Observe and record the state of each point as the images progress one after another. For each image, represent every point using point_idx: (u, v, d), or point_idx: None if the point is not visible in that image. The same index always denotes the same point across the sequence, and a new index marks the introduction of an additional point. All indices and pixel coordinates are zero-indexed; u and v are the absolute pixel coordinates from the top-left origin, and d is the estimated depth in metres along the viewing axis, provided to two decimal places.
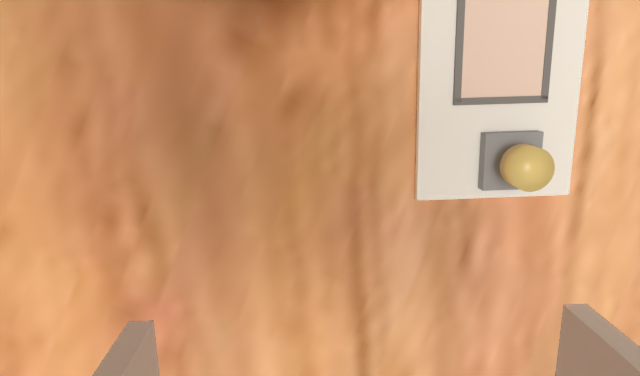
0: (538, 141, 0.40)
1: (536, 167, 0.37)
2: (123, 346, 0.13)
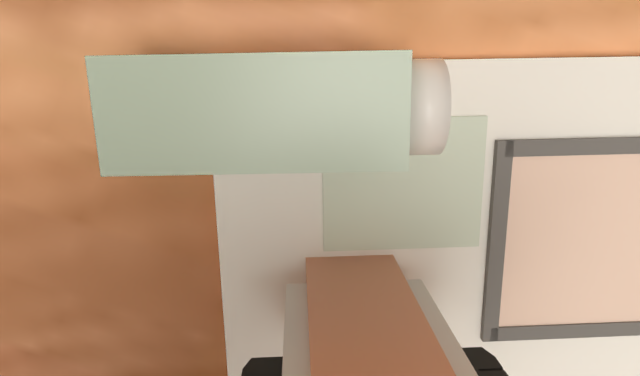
0: None
1: None
2: (295, 301, 0.15)
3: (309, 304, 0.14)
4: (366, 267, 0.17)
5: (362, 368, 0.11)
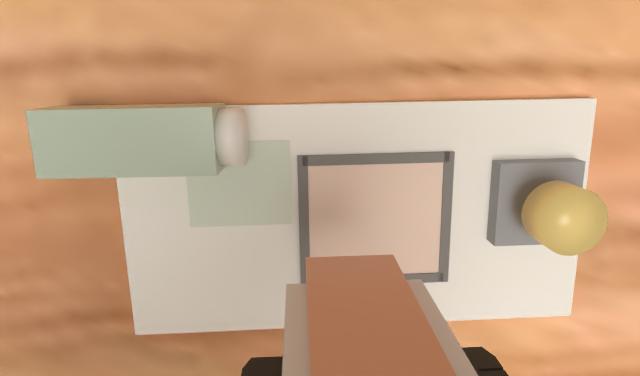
0: (514, 170, 0.27)
1: (570, 217, 0.24)
2: (295, 302, 0.15)
3: (309, 304, 0.14)
4: (366, 267, 0.17)
5: (363, 368, 0.11)
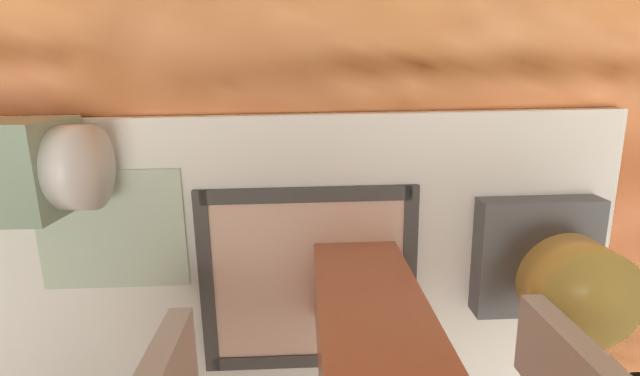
0: (505, 213, 0.19)
1: (590, 296, 0.16)
2: (167, 330, 0.14)
3: (318, 283, 0.16)
4: (370, 252, 0.19)
5: (367, 334, 0.13)
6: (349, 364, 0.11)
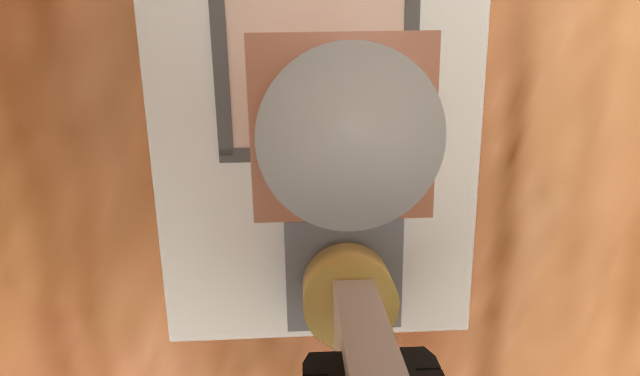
0: (394, 237, 0.20)
1: None
2: (345, 298, 0.16)
3: None
4: None
5: None
6: None
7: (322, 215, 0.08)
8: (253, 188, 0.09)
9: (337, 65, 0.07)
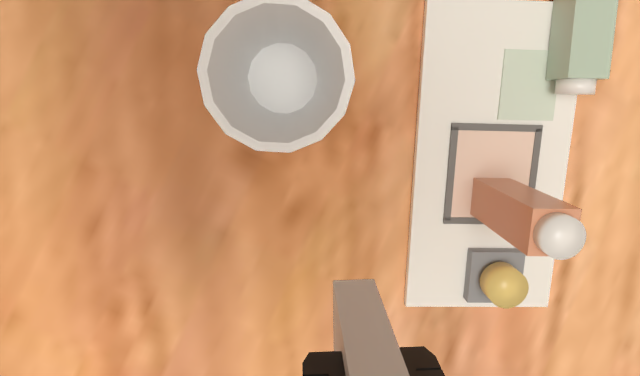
0: (520, 260, 0.43)
1: (512, 287, 0.41)
2: (345, 298, 0.16)
3: (530, 187, 0.39)
4: None
5: None
6: None
7: (554, 255, 0.31)
8: (527, 246, 0.33)
9: (563, 221, 0.31)
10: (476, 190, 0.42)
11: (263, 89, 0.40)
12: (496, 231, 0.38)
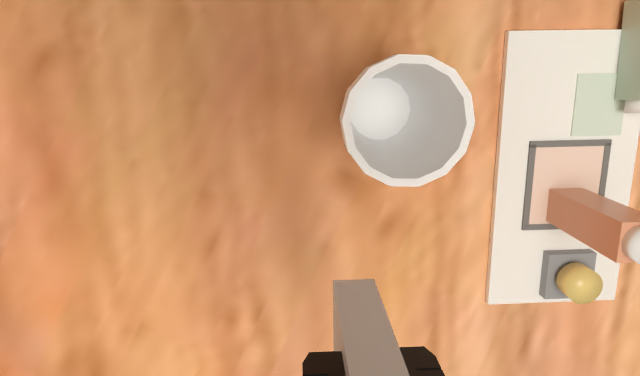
0: (592, 260, 0.49)
1: (588, 285, 0.46)
2: (345, 298, 0.16)
3: (605, 198, 0.44)
4: None
5: None
6: None
7: None
8: (616, 254, 0.38)
9: None
10: (553, 200, 0.47)
11: (362, 119, 0.45)
12: (579, 238, 0.43)
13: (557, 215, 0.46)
